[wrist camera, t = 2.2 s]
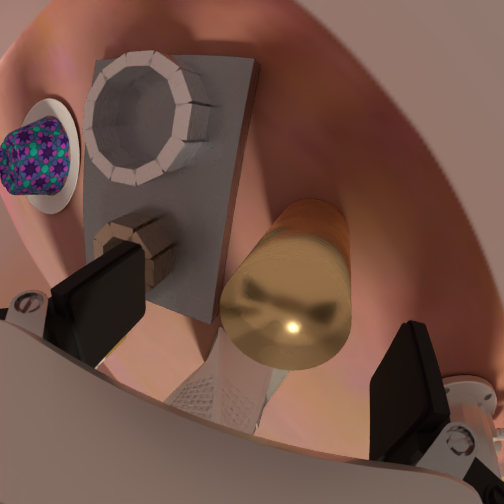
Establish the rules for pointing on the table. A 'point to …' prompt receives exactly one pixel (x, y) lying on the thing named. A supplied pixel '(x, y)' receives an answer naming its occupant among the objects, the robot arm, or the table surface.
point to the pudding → (42, 157)
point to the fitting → (293, 290)
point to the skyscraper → (228, 387)
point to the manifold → (167, 168)
